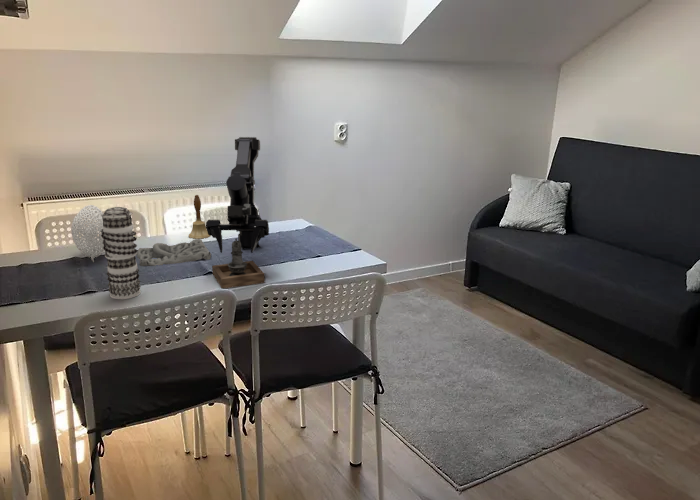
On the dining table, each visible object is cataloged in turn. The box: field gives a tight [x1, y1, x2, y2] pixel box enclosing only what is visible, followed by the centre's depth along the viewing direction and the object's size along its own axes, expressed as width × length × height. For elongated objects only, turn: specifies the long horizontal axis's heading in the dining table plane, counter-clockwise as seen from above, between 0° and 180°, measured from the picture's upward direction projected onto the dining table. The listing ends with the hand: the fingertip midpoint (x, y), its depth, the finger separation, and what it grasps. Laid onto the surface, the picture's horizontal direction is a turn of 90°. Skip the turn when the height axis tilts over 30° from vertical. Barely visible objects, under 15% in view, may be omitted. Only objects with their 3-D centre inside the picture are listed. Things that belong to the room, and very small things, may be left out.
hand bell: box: [188, 194, 211, 240], centre depth 227 cm, size 8×8×16 cm
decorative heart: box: [70, 204, 105, 263], centre depth 201 cm, size 18×11×17 cm, turn 13°
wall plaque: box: [136, 239, 212, 267], centre depth 207 cm, size 24×19×4 cm
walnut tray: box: [211, 260, 266, 289], centre depth 186 cm, size 13×13×3 cm
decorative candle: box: [100, 206, 142, 300], centre depth 170 cm, size 9×9×25 cm
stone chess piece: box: [227, 237, 247, 276], centre depth 184 cm, size 6×6×12 cm
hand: (236, 252), depth 182 cm, fingers open, 9 cm apart
